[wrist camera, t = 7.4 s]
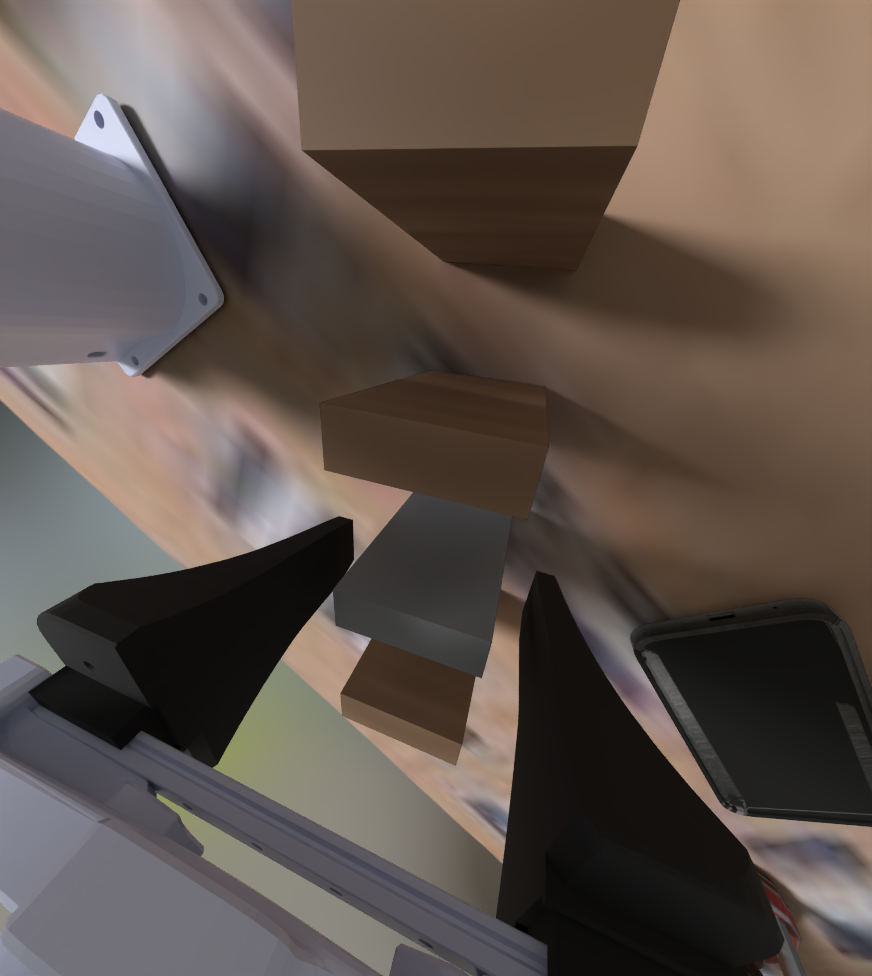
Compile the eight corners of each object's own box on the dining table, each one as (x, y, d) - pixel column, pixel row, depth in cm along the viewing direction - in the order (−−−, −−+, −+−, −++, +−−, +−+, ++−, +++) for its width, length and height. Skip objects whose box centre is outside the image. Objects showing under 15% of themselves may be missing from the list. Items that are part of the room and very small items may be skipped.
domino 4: (488, 605, 18) (455, 765, 11) (413, 581, 19) (342, 715, 12) (493, 585, 18) (461, 744, 11) (414, 561, 19) (340, 693, 12)
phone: (726, 814, 19) (626, 640, 16) (717, 791, 20) (621, 623, 16) (925, 831, 15) (847, 607, 12) (902, 801, 16) (824, 586, 13)
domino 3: (507, 529, 16) (481, 678, 9) (419, 507, 17) (335, 625, 10) (514, 503, 15) (491, 642, 8) (422, 482, 16) (333, 589, 9)
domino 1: (575, 270, 11) (637, 146, 4) (443, 261, 12) (302, 150, 5) (591, 210, 10) (704, -83, 3) (448, 206, 11) (289, -17, 4)
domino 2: (535, 425, 13) (527, 520, 6) (429, 406, 14) (324, 470, 7) (545, 386, 12) (548, 447, 6) (433, 369, 13) (319, 402, 7)
